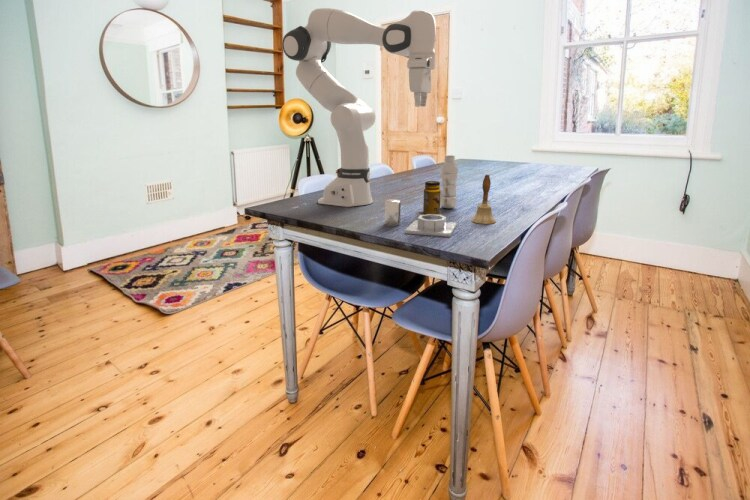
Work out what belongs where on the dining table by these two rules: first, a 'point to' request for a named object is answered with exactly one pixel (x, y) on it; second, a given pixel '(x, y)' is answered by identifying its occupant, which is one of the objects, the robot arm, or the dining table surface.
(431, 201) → the condiment
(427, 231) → the duct flange
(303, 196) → the dining table surface
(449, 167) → the plastic bottle
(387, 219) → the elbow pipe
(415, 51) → the robot arm
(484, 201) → the hand bell
